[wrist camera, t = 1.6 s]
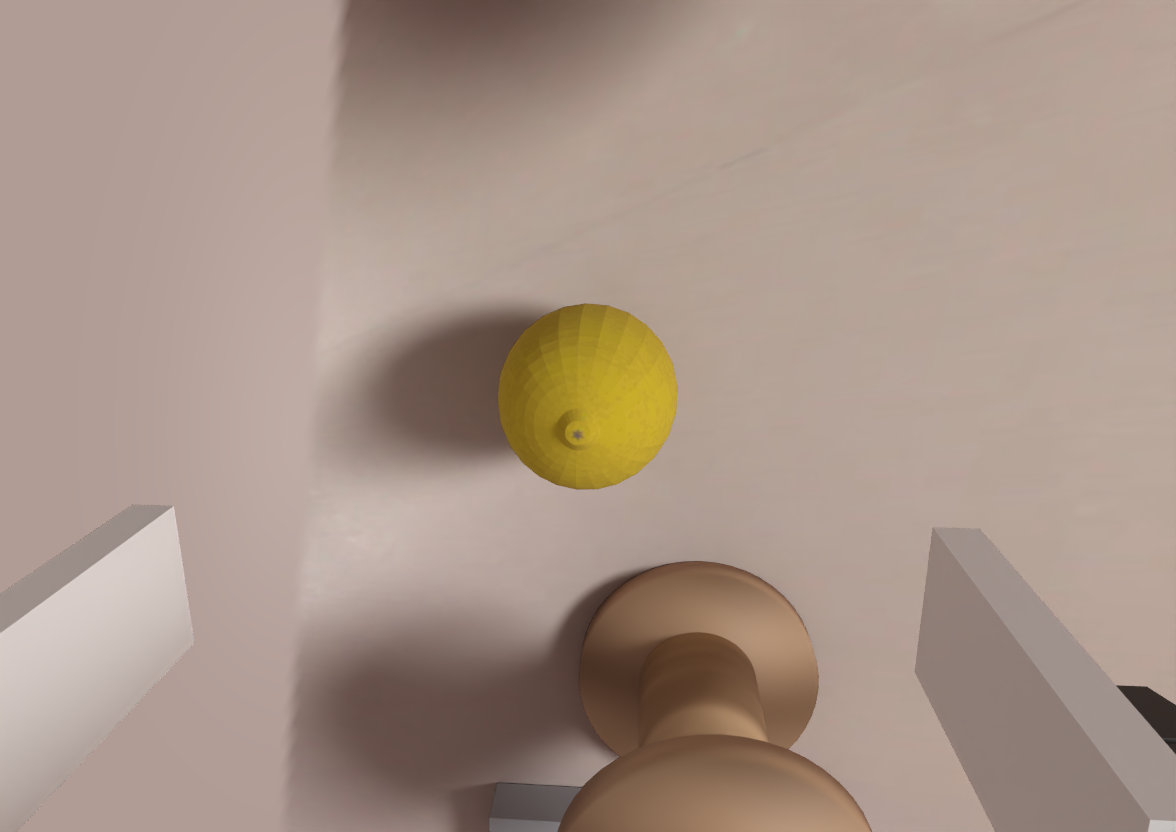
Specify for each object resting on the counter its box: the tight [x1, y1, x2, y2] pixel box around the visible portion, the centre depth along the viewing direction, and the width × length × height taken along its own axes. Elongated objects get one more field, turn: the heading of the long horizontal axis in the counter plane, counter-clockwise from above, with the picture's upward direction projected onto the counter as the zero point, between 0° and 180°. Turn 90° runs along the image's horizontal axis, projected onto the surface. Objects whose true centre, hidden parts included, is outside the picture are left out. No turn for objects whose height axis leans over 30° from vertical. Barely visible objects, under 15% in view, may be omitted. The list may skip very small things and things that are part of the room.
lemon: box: [498, 304, 677, 489], centre depth 27 cm, size 6×6×8 cm
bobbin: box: [557, 561, 872, 832], centre depth 28 cm, size 9×9×11 cm
